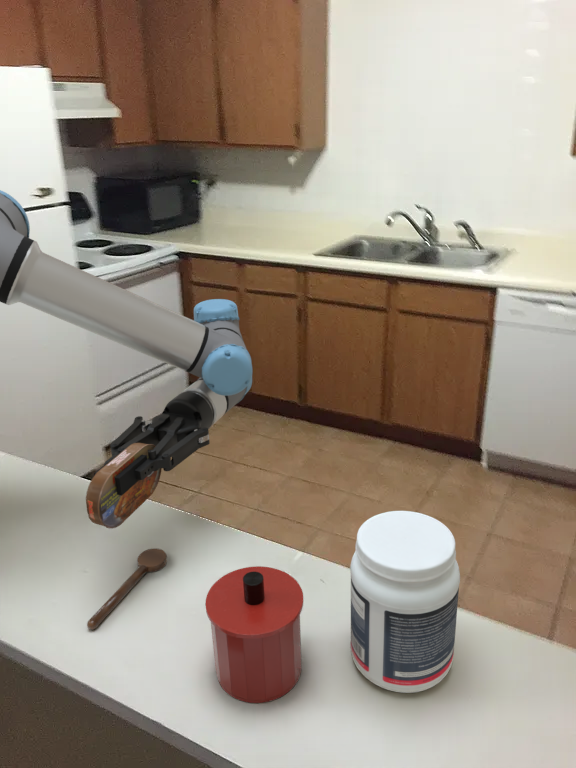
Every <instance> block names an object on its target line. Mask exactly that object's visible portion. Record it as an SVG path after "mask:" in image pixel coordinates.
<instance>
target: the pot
mask: <svg viewBox="0 0 576 768" xmlns="http://www.w3.org/2000/svg"><path fill="white" fill-rule="evenodd" d="M210 627H211V628H210V629H211V638H212V648H213V657H214V667H215V674H216V677H217V681H218V683H219V686H220V687H221V688H222V690H223V691H224V692H225V693H227V695H229V696H230V697H232V698H233V699H235V700H238V701H241V702H244V703H249V704H262V703H263V704H264V703H269V702H272V701H276V700H277V699H281V698H282V697H283V696H285V695H286V694H288V693H289V692H290V691H291V690H293V688H294V687H295V686H296V685H297V683H298V681H299V679H300V677H301V673H302V640H301V638H302V637H301V614H300V615H299V617H298V618H297V620H296V621H295V622H294V623H293V624H292V625H291V626H289V627H288V628H286V629H285V630H283V631H281V632H279V633H277V634H275V635H272V636H268V637H264V638H257V639H244V638H238V637H233V636H230V635H228V634H225V633H223V632H222V631H220V630H219V629H217V628H216V627H215V626H214V625H213V624H212V623H211V622H210Z"/></svg>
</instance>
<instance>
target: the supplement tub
mask: <svg viewBox="0 0 576 768" xmlns="http://www.w3.org/2000/svg"><path fill="white" fill-rule="evenodd" d="M354 547H355V551H354V553H353V555H352V557H351V561H350V565H349V570H350V571H349V573H350V642H349V645H350V646H349V648H350V649H349V650H350V653H351V657H352V661H353V662H354V665H355V666H356V668H357V669H358V671H359V672H360V673H361V674H362V675H363V677H364V678H366V679H367V680H368V681H370V682H371V683H372V684H374V685H376V686H377V687H380V688H381V689H385V690H388V691H392V692H396V693H402V694H403V693H404V694H406V693H407V694H409V693H411V694H412V693H419V692H422V691H426V690H429V689H431V688H434V687H435V686H436V685H438V684H440V682H441V681H443V680H444V679H445V677H446V676H447V674H448V673H449V671H450V670H451V668H452V666H453V662H454V654H455V641H456V627H457V615H458V605H459V590H460V584H461V574H460V573H461V572H460V566H459V564H458V561H457V551H456V539H455V536H454V534H453V533H452V531H451V530H450V528H449V527H448V526H446V525H445V524H444V523H443V522H442V521H440V520H438V519H437V518H435V517H432V516H430V515H427V514H424V513H421V512H416V511H412V510H411V511H410V510H392V511H391V510H390V511H386V512H382V513H379V514H375V515H373V516H371V517H370V518H368V519H367V520H365V521H363V523H362V524H361V525H360V526H359V528H358V530H357V533H356V541H355V546H354Z"/></svg>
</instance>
